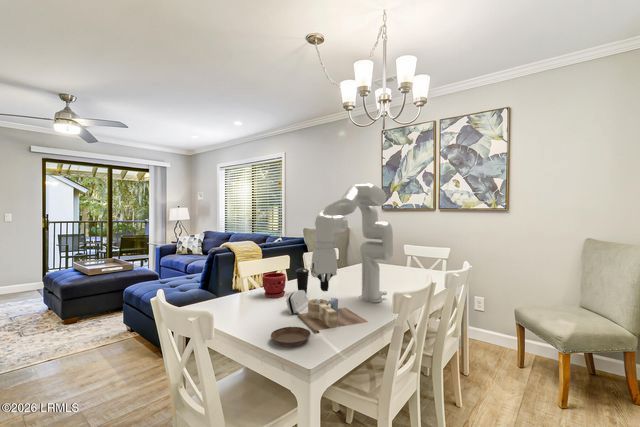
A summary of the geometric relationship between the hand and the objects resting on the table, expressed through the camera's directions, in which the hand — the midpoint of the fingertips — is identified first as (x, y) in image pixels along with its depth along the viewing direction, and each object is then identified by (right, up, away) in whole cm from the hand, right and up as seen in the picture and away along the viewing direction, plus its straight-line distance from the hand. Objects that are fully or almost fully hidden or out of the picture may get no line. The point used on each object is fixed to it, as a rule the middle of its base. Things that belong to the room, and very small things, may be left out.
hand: (324, 290), depth 127 cm
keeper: (+4, -15, +11) cm, 20 cm away
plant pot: (-28, -15, +48) cm, 58 cm away
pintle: (-3, -15, +13) cm, 21 cm away
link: (0, -14, +8) cm, 17 cm away
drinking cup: (-12, -15, +52) cm, 55 cm away
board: (+4, -15, +10) cm, 19 cm away
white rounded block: (-12, -16, +24) cm, 32 cm away
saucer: (-13, -16, -12) cm, 24 cm away
